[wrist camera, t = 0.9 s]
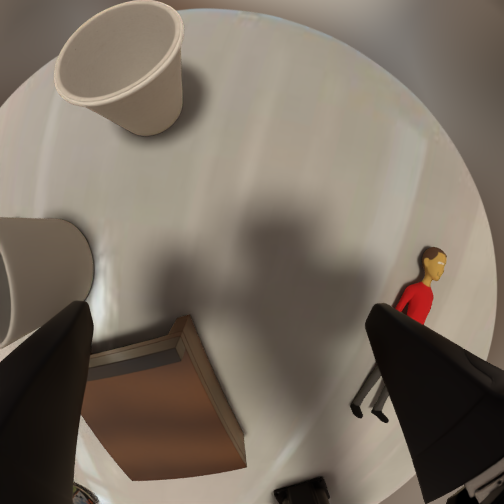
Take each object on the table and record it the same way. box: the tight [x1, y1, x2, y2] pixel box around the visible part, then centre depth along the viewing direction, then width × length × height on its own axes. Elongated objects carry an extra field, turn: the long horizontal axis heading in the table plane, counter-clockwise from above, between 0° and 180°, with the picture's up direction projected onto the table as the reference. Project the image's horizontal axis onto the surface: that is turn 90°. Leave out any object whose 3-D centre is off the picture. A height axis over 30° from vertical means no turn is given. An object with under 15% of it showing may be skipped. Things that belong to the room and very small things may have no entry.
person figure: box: [350, 247, 447, 423], centre depth 23 cm, size 5×4×18 cm
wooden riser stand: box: [81, 314, 247, 481], centre depth 19 cm, size 14×12×7 cm
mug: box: [0, 217, 93, 349], centre depth 16 cm, size 12×8×11 cm
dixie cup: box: [54, 0, 184, 136], centre depth 16 cm, size 8×8×10 cm
